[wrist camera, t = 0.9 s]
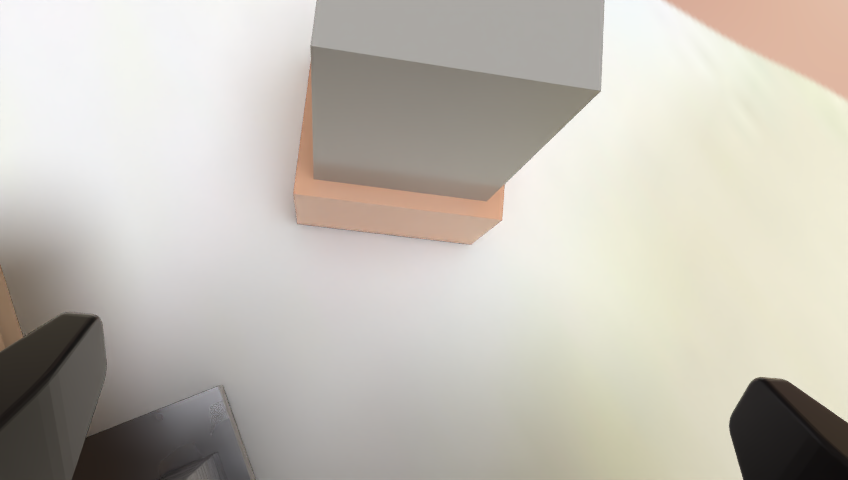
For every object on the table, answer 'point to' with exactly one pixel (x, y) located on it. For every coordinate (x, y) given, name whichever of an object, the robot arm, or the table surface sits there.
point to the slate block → (447, 88)
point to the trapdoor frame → (170, 445)
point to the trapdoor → (7, 317)
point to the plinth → (386, 203)
